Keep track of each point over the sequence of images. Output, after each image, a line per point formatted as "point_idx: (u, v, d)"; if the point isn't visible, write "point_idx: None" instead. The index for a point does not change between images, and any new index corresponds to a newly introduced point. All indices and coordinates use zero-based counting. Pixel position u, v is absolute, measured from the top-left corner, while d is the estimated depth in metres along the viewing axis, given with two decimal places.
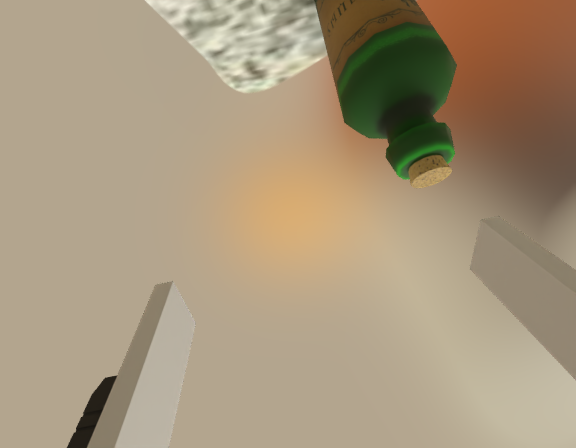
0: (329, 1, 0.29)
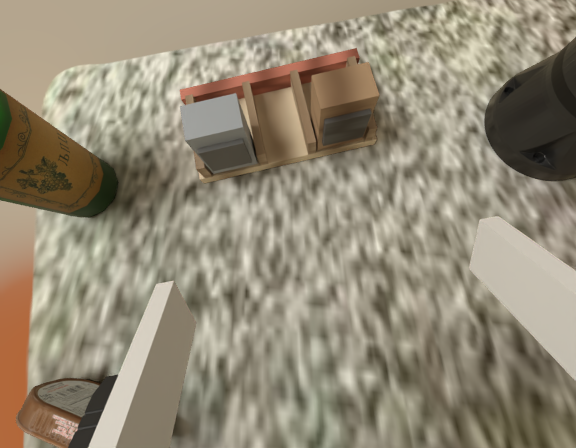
0: (77, 143, 0.34)
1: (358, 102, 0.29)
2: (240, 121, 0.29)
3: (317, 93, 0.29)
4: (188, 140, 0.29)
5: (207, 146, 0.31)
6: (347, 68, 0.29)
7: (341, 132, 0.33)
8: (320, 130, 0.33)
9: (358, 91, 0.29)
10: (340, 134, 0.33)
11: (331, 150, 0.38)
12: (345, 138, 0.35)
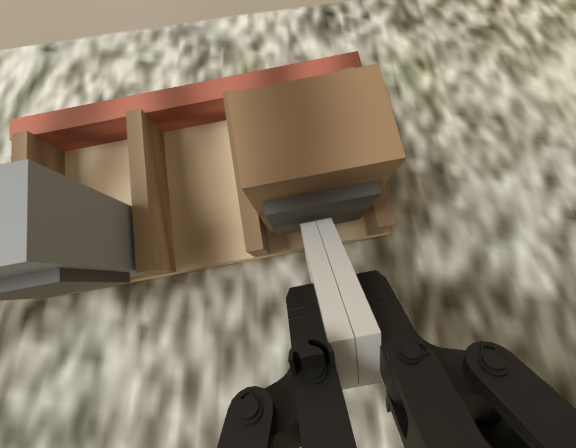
0: None
1: (346, 172, 0.11)
2: (23, 243, 0.10)
3: (237, 143, 0.11)
4: None
5: None
6: (321, 78, 0.11)
7: (310, 220, 0.15)
8: (262, 215, 0.14)
9: (347, 143, 0.10)
10: None
11: (302, 249, 0.20)
12: None
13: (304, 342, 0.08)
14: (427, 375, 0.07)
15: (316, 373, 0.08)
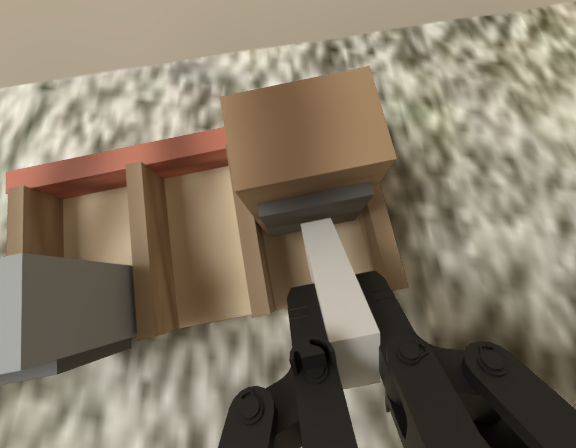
0: None
1: (338, 174, 0.11)
2: (17, 349, 0.10)
3: (230, 146, 0.11)
4: None
5: None
6: (313, 81, 0.11)
7: (305, 221, 0.15)
8: (257, 217, 0.15)
9: (339, 145, 0.11)
10: None
11: None
12: None
13: (305, 342, 0.08)
14: (426, 375, 0.07)
15: (317, 373, 0.08)
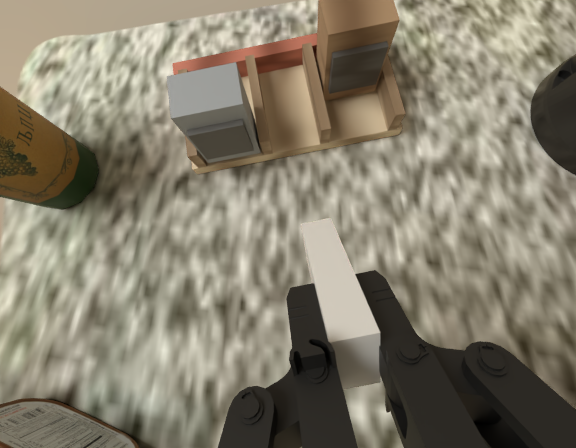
0: (46, 121, 0.28)
1: (373, 29, 0.24)
2: (240, 96, 0.23)
3: (325, 17, 0.24)
4: (175, 118, 0.23)
5: (199, 128, 0.25)
6: None
7: (351, 74, 0.28)
8: (327, 70, 0.28)
9: (374, 15, 0.24)
10: (350, 77, 0.29)
11: (348, 140, 0.32)
12: (355, 84, 0.30)
13: (305, 342, 0.08)
14: (426, 375, 0.07)
15: (317, 373, 0.08)
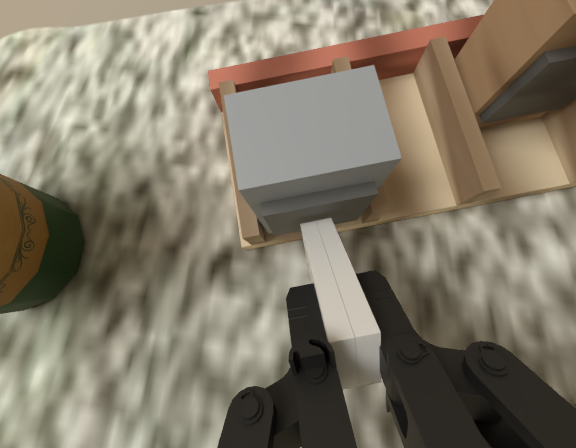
0: None
1: None
2: (393, 141, 0.10)
3: None
4: (246, 189, 0.11)
5: (285, 199, 0.12)
6: None
7: (545, 92, 0.15)
8: (505, 85, 0.15)
9: None
10: (539, 97, 0.16)
11: (499, 198, 0.20)
12: (534, 108, 0.17)
13: (304, 342, 0.08)
14: (427, 375, 0.07)
15: (316, 373, 0.08)
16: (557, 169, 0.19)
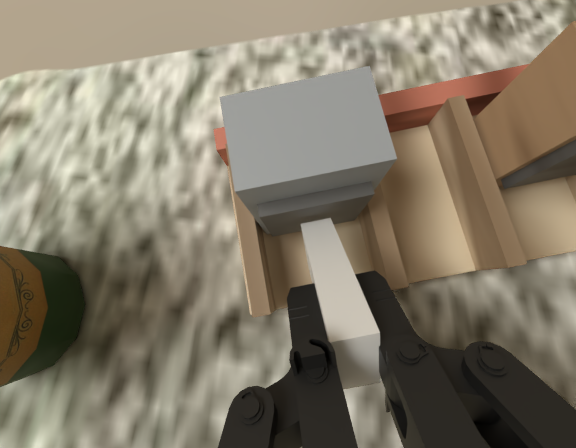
0: None
1: None
2: (388, 142, 0.10)
3: None
4: (243, 191, 0.11)
5: (282, 200, 0.12)
6: None
7: (574, 166, 0.15)
8: (531, 160, 0.14)
9: None
10: (566, 169, 0.15)
11: None
12: (560, 175, 0.16)
13: (305, 342, 0.08)
14: (426, 375, 0.07)
15: (317, 373, 0.08)
16: None
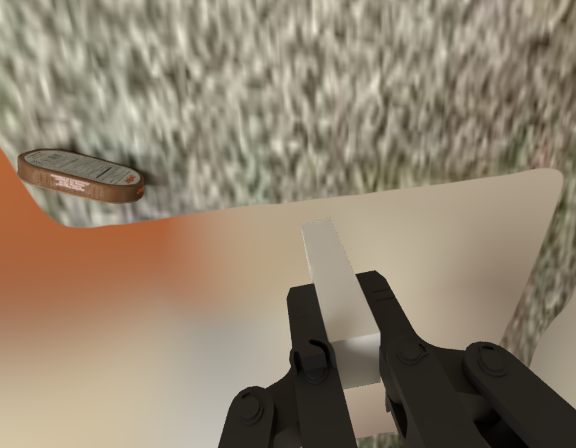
0: None
1: None
2: None
3: None
4: None
5: None
6: None
7: None
8: None
9: None
10: None
11: None
12: None
13: (305, 342, 0.08)
14: (426, 375, 0.07)
15: (317, 373, 0.08)
16: None
